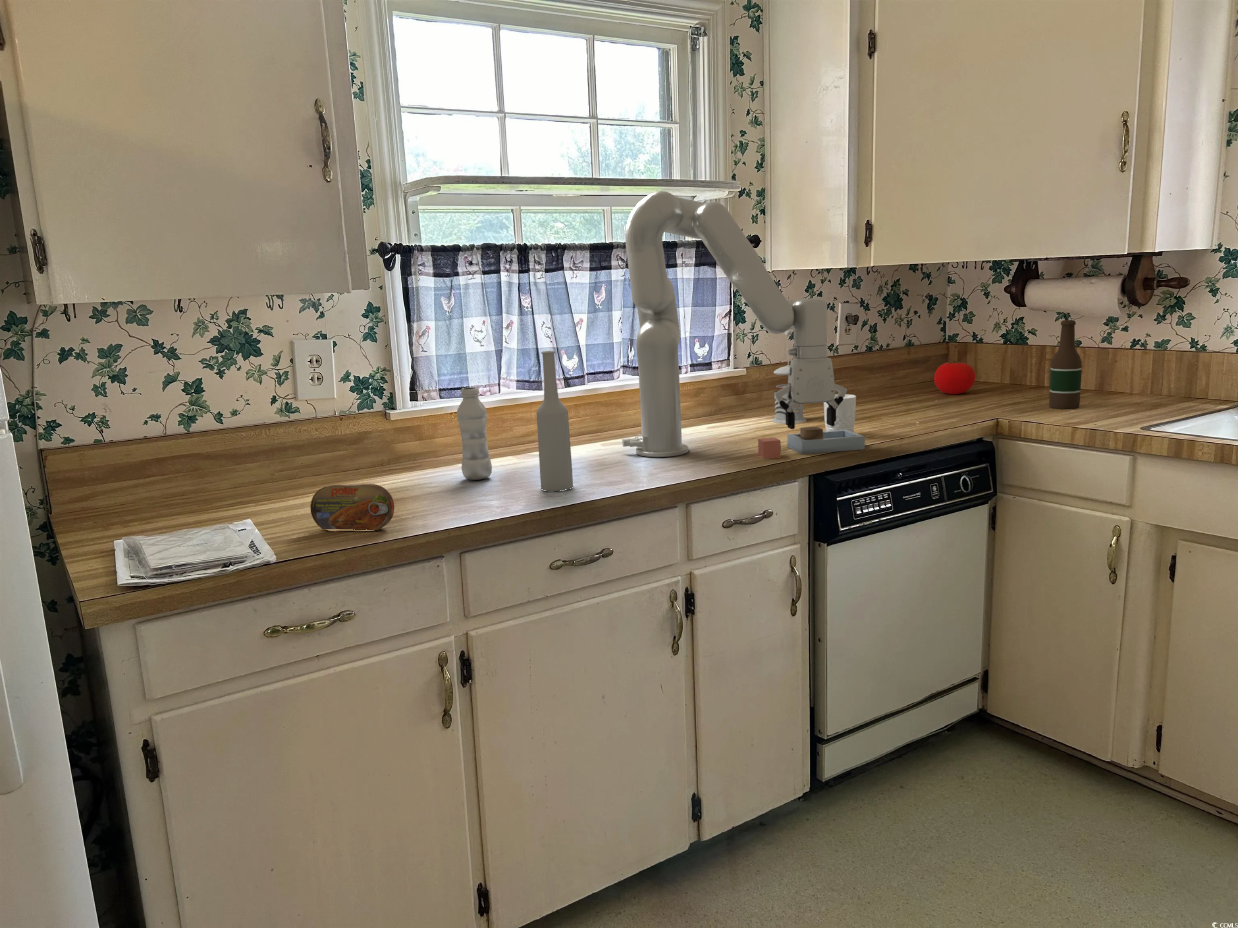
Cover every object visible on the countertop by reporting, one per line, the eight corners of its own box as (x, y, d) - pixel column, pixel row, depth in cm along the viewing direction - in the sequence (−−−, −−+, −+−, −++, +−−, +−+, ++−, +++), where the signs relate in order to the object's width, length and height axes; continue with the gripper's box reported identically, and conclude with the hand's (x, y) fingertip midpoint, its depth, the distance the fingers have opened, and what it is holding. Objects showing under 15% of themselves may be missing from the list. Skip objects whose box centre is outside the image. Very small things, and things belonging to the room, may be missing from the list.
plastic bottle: (479, 483, 194) (472, 390, 190) (456, 481, 197) (447, 389, 193) (499, 477, 199) (492, 386, 195) (475, 475, 203) (468, 386, 199)
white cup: (856, 438, 223) (856, 398, 221) (823, 439, 224) (823, 399, 222) (855, 433, 230) (855, 393, 228) (823, 433, 232) (823, 394, 230)
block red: (763, 459, 205) (763, 441, 204) (758, 455, 209) (757, 438, 208) (780, 457, 205) (780, 440, 205) (775, 454, 209) (774, 437, 209)
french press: (792, 416, 260) (792, 328, 255) (818, 421, 250) (817, 330, 245) (764, 420, 256) (762, 331, 251) (788, 425, 246) (787, 332, 241)
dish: (802, 454, 207) (802, 441, 207) (787, 446, 217) (787, 434, 216) (864, 449, 209) (864, 436, 209) (846, 441, 219) (846, 429, 219)
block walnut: (806, 447, 210) (806, 430, 209) (800, 444, 214) (800, 427, 213) (823, 446, 210) (822, 429, 210) (816, 443, 214) (816, 426, 213)
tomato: (930, 392, 295) (931, 359, 292) (969, 390, 293) (970, 358, 291) (938, 396, 284) (939, 363, 282) (979, 395, 282) (980, 361, 280)
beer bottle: (1081, 405, 253) (1085, 319, 249) (1077, 410, 247) (1082, 321, 242) (1050, 405, 258) (1054, 319, 253) (1046, 409, 251) (1050, 321, 246)
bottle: (552, 493, 182) (542, 353, 176) (535, 488, 187) (525, 352, 181) (579, 487, 185) (571, 350, 180) (562, 482, 191) (553, 349, 185)
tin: (312, 532, 162) (306, 486, 160) (320, 527, 165) (315, 482, 163) (391, 532, 159) (386, 485, 158) (398, 527, 162) (394, 481, 161)
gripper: (779, 356, 203) (780, 432, 207) (852, 352, 206) (852, 426, 209) (768, 354, 210) (770, 427, 214) (839, 349, 213) (839, 421, 217)
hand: (810, 426), depth 212 cm, fingers open, 9 cm apart
